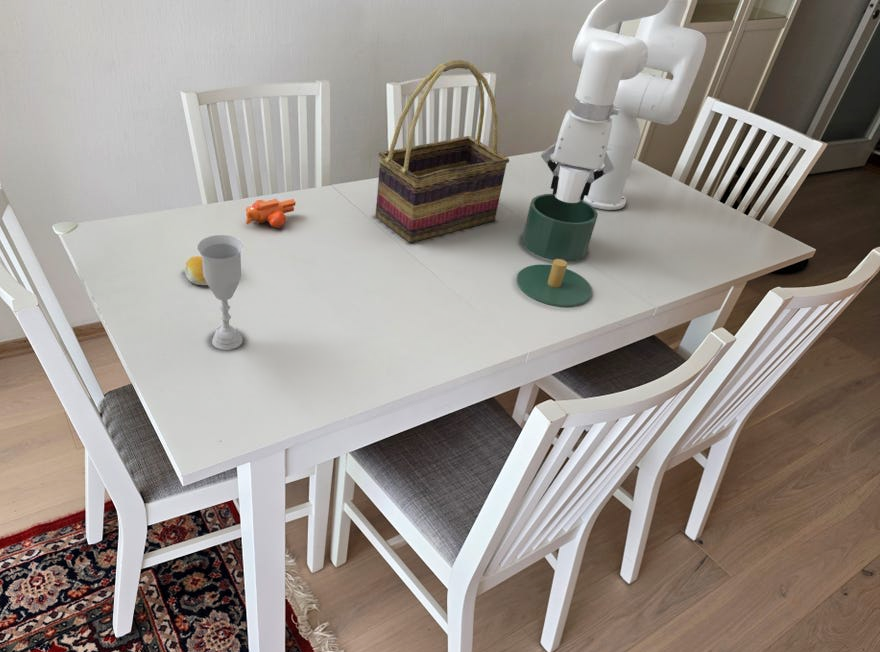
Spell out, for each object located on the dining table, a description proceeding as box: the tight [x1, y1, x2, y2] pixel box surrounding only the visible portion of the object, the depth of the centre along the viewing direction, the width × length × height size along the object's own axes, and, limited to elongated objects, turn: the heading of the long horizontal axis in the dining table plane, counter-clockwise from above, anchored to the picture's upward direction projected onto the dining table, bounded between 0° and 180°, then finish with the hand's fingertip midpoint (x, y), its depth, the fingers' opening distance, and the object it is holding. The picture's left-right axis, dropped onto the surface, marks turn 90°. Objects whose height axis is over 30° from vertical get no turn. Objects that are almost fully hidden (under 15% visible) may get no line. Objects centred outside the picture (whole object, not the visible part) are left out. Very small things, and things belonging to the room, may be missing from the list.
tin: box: [521, 193, 599, 262], centre depth 150 cm, size 14×14×10 cm
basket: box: [375, 59, 510, 244], centre depth 147 cm, size 26×15×35 cm, turn 126°
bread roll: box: [183, 255, 208, 286], centre depth 129 cm, size 8×9×4 cm
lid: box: [516, 259, 593, 308], centre depth 137 cm, size 15×15×6 cm
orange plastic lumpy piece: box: [245, 198, 297, 229], centre depth 147 cm, size 5×8×12 cm
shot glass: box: [555, 164, 590, 203], centre depth 143 cm, size 7×7×7 cm
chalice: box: [197, 234, 244, 351], centre depth 109 cm, size 7×7×18 cm
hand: (568, 194), depth 145 cm, fingers closed on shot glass, 5 cm apart
